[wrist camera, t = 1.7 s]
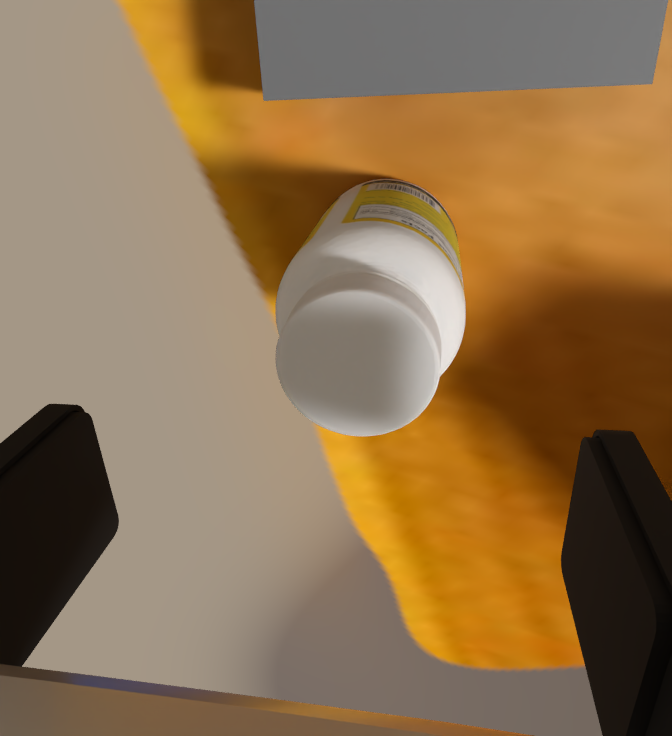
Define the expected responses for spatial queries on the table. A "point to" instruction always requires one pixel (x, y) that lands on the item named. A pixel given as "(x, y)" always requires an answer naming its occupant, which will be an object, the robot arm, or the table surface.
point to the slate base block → (453, 45)
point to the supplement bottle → (371, 310)
